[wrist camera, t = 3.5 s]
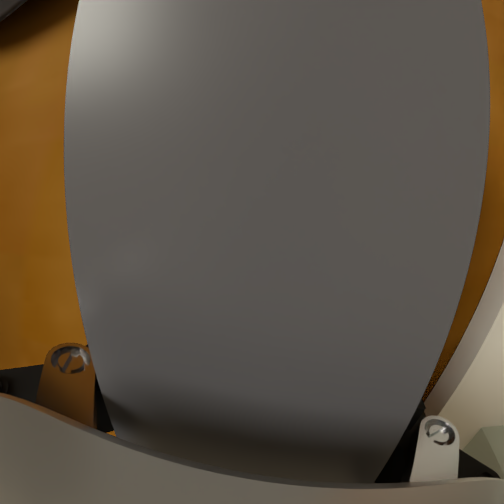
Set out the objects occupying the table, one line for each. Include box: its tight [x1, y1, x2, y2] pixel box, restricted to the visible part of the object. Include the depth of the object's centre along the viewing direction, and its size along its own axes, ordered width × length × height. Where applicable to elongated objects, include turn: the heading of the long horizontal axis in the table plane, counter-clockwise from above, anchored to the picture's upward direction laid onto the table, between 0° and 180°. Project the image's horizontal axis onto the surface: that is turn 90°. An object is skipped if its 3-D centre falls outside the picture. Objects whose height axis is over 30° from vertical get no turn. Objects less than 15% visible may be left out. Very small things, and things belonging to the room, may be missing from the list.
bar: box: [64, 0, 490, 484], centre depth 9 cm, size 20×6×7 cm, turn 177°
